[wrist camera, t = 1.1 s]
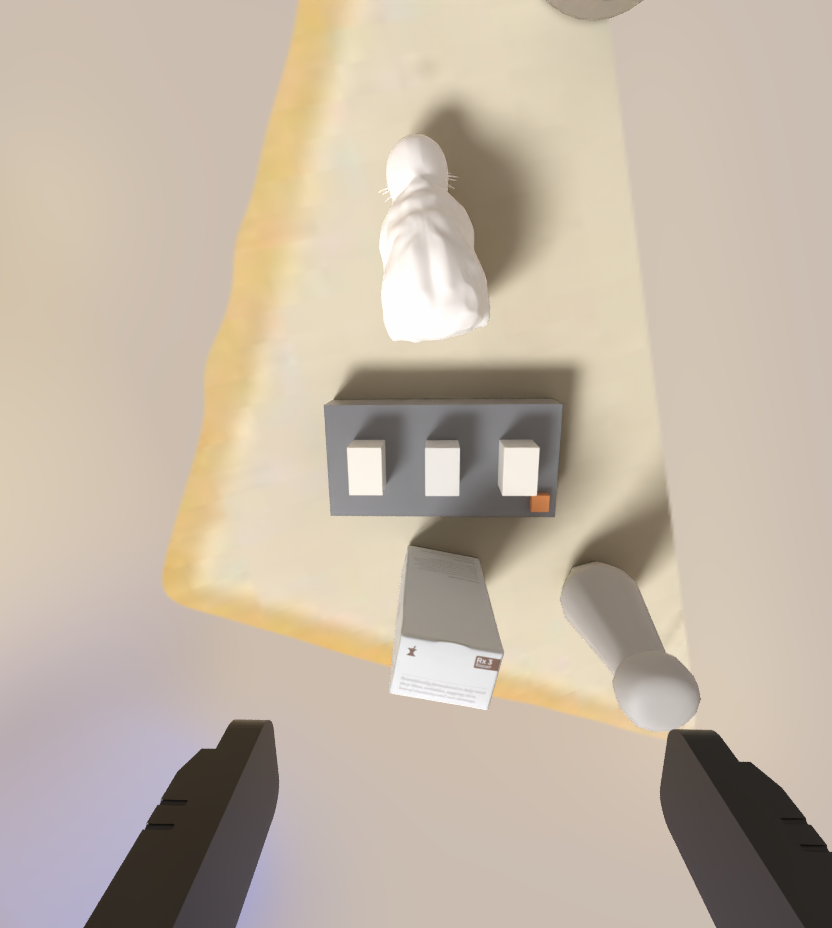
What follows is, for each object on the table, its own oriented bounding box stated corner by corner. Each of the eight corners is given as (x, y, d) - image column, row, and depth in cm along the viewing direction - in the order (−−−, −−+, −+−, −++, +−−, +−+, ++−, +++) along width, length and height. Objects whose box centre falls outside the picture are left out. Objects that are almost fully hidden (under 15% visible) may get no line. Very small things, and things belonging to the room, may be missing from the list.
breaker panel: (333, 399, 34) (314, 410, 29) (551, 398, 34) (573, 409, 28) (339, 501, 36) (322, 528, 31) (545, 502, 36) (563, 530, 30)
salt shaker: (627, 549, 36) (728, 660, 24) (626, 613, 38) (720, 749, 25) (552, 554, 37) (612, 666, 24) (553, 617, 38) (610, 753, 26)
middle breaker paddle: (425, 440, 32) (424, 448, 29) (458, 440, 31) (459, 448, 29) (425, 484, 32) (425, 496, 30) (457, 484, 32) (459, 496, 30)
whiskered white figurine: (381, 344, 25) (341, 95, 23) (396, 354, 33) (368, 173, 31) (500, 325, 24) (470, 68, 22) (485, 340, 32) (462, 155, 31)
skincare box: (398, 589, 38) (382, 699, 26) (408, 540, 37) (395, 633, 25) (471, 602, 38) (487, 719, 27) (483, 554, 37) (505, 653, 25)
